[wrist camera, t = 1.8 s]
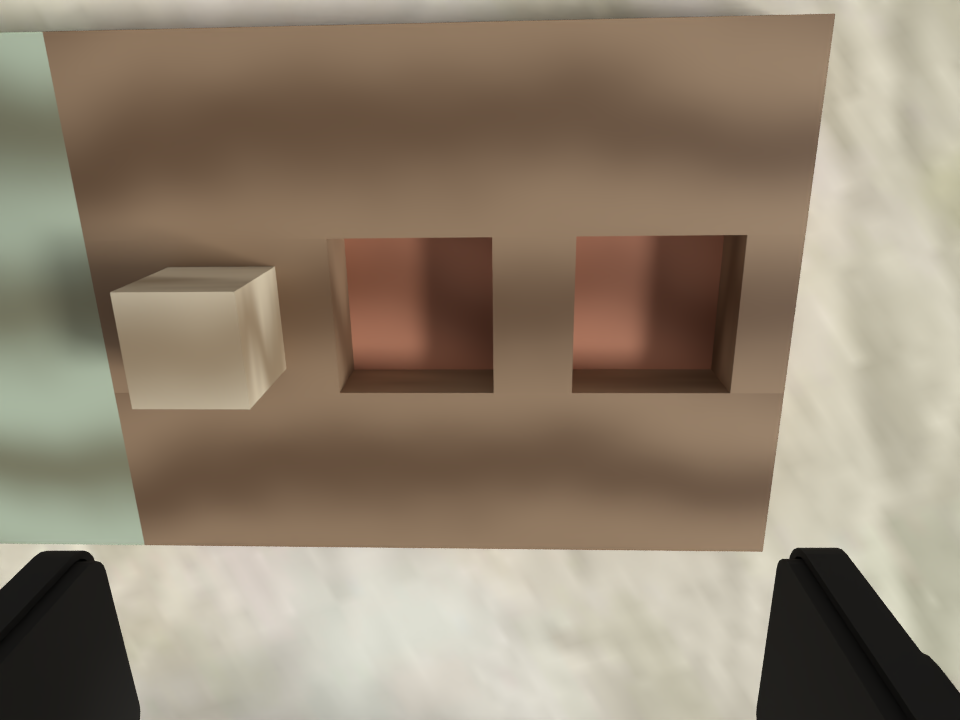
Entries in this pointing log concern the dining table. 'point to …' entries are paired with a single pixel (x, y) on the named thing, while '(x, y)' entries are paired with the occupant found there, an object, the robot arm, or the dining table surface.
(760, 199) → the board
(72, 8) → the dining table surface
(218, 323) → the maple block
